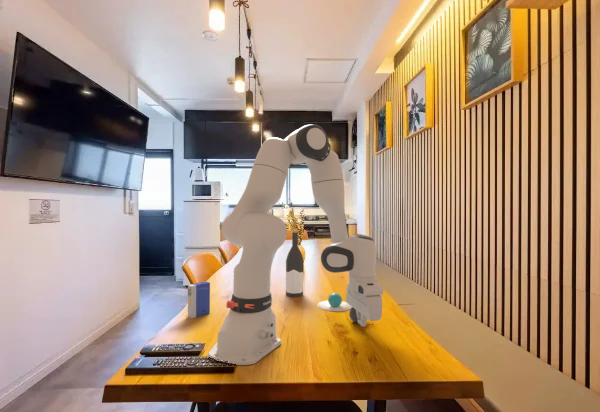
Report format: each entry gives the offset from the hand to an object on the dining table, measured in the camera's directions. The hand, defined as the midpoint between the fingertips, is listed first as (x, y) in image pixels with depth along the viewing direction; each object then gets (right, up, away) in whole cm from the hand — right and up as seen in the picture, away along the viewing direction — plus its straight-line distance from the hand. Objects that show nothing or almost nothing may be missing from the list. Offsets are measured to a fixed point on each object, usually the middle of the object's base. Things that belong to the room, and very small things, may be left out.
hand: (361, 324), depth 109 cm
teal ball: (-6, +1, +24) cm, 25 cm away
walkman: (-58, -1, +13) cm, 60 cm away
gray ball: (0, +1, +7) cm, 7 cm away
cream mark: (-6, -1, +25) cm, 26 cm away
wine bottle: (-23, -1, +41) cm, 47 cm away
